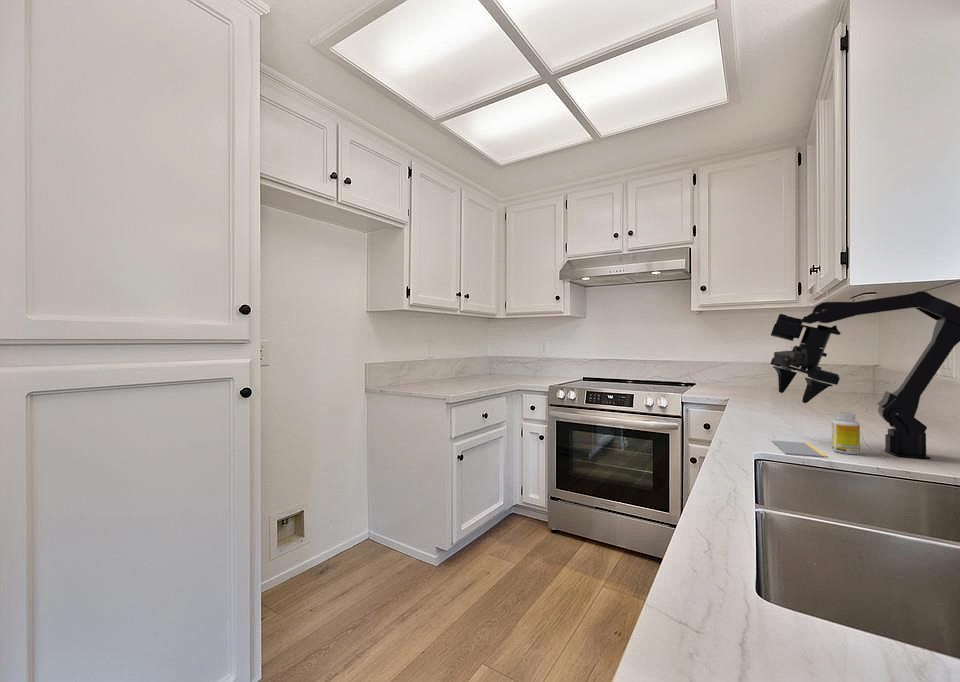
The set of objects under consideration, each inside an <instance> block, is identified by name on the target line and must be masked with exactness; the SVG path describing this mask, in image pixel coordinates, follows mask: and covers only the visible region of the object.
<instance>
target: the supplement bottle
mask: <svg viewBox="0 0 960 682" xmlns="http://www.w3.org/2000/svg"><path fill="white" fill-rule="evenodd" d="M834 417H835V418H834V419H833V420H831V448H832V450H833V451H834V452H835V453H839V454H844V455H858V454H860V452H861V438H860V437H861V435H860V434H861V431H860V430H861V429H860V422H859V421H856V419H857V417H856V414H855V413H852V412H851V413H850V412H842V411H841V412H838V411H837V412H835V416H834Z"/></svg>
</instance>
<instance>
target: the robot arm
mask: <svg viewBox="0 0 960 682" xmlns="http://www.w3.org/2000/svg"><path fill="white" fill-rule="evenodd" d="M907 309H915V310H917V311H919V312H921V313H923V314H925V315H926V316H927V317H929V318H931V319H932V320H935V321H936V322H935V325H934V328H933V332H932V337H931V340H930V341H929V343H928V344H927V346H926V348H925V349H924V350H923V352H922V354H921V355H920V356H919V358H918V359H917V361H916V362H915V364H914V365H913V366H912V369H911V370H910V372H909V373H908V374H907V376H906V377H905V378H904V381H903V382H902V384H901V385H900V387H899V388H897V389H896V390H895V391H894V392H893V393H892V392H889V391H887V390H886V391H885V392H884V394H883V396H882V399H880V401H878V402H877V403H876V404H877V405H878V406H879V407H878V408H877V413H878V415H879V416H880V417H881V418H882V419H883V420H884V421H885V422H886V423H888V424H889V427H890V428H887V434H885V435H884V438H885V441H884V443H885V448H884V451H885V452H888V453H889V454H891V455H893V456H895V457H903V458H916V459H918V458H919V459H931V456H929V455H927V433H926V431H927V428H928V426H926V425H925V424H924V423H922V422H921V421H920V420H919V419H917V418H916V417H915V416H916V414H917V411H918V408H919V404H920V399H921V396H922V395H923V393H924V392H925V390H926V388H927V387H928V386H929V384H930V383H931V381H932V380H933V378H934V377H935V375H936V374H937V372H938V371H939V370H940V368H941V366H942V365H943V364H944V362H945V361H946V360H947V358H948V356H949V355H950V353H951V352H952V351H953V350H954V347H955V346H956V345H958V344H959V343H960V306H958V305H956V304H954V303H952V302H950V301H947V300H944V299H941V298H939V297H937V296H934V295H933V294H931V293H929V292H927V291H923V290H922V291H917V292H913V293H907V294H900V295H899V294H898V295H893V296H887V297H880V298H874V299H873V298H872V299H866V300H861V301H860V300H859V301H824V302H820V303H817V305H816V306H815V307H814V308H813V309H812V310H811V311H812V312H811V313H810V314H808V315H806V316H805V315H804V316H803V317H802V318H797V317H794V316H788V315H786V314H783V313H779V315H778V317H777V319H776V323H774V325H773V328H772V330H771V333H770V336H771V337H775V338H780V339H783V340H787V341H791V342H793V341H794V340H795V339H797V340H798V339H800V336H801V334H802V333H803V332H802V331H803V329H804V328H805V330H804V333H803V335H802V337H801V340H800V342H799V344H798V345H795V346H793V348H792V349H791V350H781V351H775V352H773V357H772V359H771V361H770V365H772V368H773V369H774V370H775V371H776V373H777V377H778V378H777V379H778V380H777V381H778V393H781V394H784V393H785V391H786V390H787V388H788V387H789V385H790V384H791V383H792V381H793V380H794V378H795V377H796V375H797V374H798V373H797V372H800V373H802V374H806V375H807V377H804V379H805V381H806V387H805V389H804V393H803V396H802V400H801V403H803V404H807V403H809V402H810V401H811V400H812V399H813V398H815V397H817V396H818V395H819V394H820V393H822V392H823V391H824V390H826V389H827V388H829V387H831V388H832V387H833V385H836V386H837V385H838V384H839V382H840V379H841V378H840V375H839V374H837V373H834V372H832V371H828V370H824V369H822V367H820V366H819V364H820V362H821V359H822V357H825V358H826V357H827V356H828V353H826V352H825V349H826V347H827V345H828V342H829V339H830V338H831V335H835V336H840V335H841V332H840V331H839V329H838V327H837V325H833V326H827V325H825V324H831V323H833V322H838V321H842V320H844V319H848V318H852V317H855V316H862V315H869V314H870V315H871V314H879V313H884V312H890V311H891V312H893V311H894V312H895V311H901V310H907ZM814 323H819V324H817V325H816V327H813V326H809V325H810V324H814ZM804 324H807V325H804ZM822 324H824V325H822ZM796 371H797V372H796Z"/></svg>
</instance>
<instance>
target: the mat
mask: <svg viewBox="0 0 960 682" xmlns="http://www.w3.org/2000/svg"><path fill="white" fill-rule="evenodd" d="M771 443H772V444H774V445H775V446H776V447H777V448H778V449H780V450H781V452H782V453H784V455H791V456H803V457H817V458H828V457H829V456H828V454H826V453H824V452H823V451H821V450H820V449H818V448H817V447H816V446H814V445H813V444H811V443H810V442H807V441H806V442H798V441H797V442H796V441H787V440H786V441H784V440H783V441H782V440H771Z"/></svg>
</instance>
